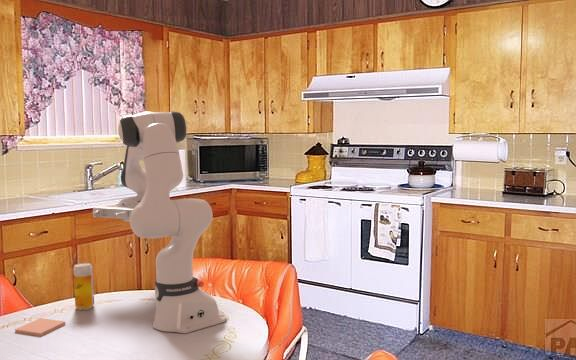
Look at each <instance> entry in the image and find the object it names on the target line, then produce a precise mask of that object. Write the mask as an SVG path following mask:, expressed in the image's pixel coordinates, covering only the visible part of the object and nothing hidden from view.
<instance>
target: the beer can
mask: <svg viewBox="0 0 576 360" xmlns="http://www.w3.org/2000/svg"><path fill="white" fill-rule="evenodd" d="M72 271H73V272H72V273H73V286H74V287H73V288H74V290H73V291H74V306H75V308H76V309H77V310H78V311H87V310H91V309H93V307H94V305H95V293H94V276H93V275H94V274H93V266H92V264H91V263H90V262H80V263H76V264H74V266H73V269H72Z"/></svg>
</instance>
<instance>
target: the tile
mask: <svg viewBox="0 0 576 360" xmlns="http://www.w3.org/2000/svg"><path fill="white" fill-rule="evenodd" d="M63 326H66V321H63V320H58V319H57V320H56V319H52V318H51V319H50V318H42V317H40V318H37V319H35V320H33V321H31V322H28V323H26V324H24V325H22V326H19V327H16V328H15V329H14V332H15V333H17V332H18V333H19V334H23V333H24V335H30V336H35V337H36V336H37V337H43V336H44V335H47V334H48V333H51V332H53V331H55V330H56V329H59V328H61V327H63ZM18 333H17V334H18Z"/></svg>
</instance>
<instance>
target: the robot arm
mask: <svg viewBox="0 0 576 360" xmlns="http://www.w3.org/2000/svg"><path fill="white" fill-rule="evenodd" d="M117 129H118V130H117V133H118V137H119V138H120V140H121V142H122V144H123V145H125V146H126V149H125V154H124V162H123V168H122V171H121V173H120V181H121V184H122V186H123V187H126V188H127V189H129V190H132V191H133V192H134V193H136V194H137V195H136V196H132V197H127V198H122V199H121V200H119V202H118V204H117V205H116V204H115V205H114V204H113V205H111V204H104V205H98V206H93V208H92V217H93V218H108V219H109V218H110V219H121V220H122V221H124V222H127V223H128V222H129V226H130V229H131V231H132V232H133V233H134V235H135V236H136V237H138V238H142V239H143V238H144V239H162V238H167V237H171V239H170V241H169V243H168V244H167V245H166V246H165V247H164V248H162V249H160V250H159V252H158V253H157V255H156V257H155V273H156V275H155V276H156V279H155V281H154V283H155V284H154V285H155V286H154V295H155V299H156V304H155V305H156V306H155V312H154V313H155V314H154V319H153V323H152V326H153V328H154V329H155V330H158V331H162V332H169V333H171V332H172V333H173V332H174V333H179V334H189V333H191V332H195V331H198V330H202V329H204V328H208V327H212V326H215V325H219V324H222V323H225V322H226V320H227V317H226V314H225V313H224V312H223V311H222V310H221V309H219V306H218V303H217V301H216V299H215V298H214V297H213V296H212V295H210V294H209V293H207V292H205V291H204V290H202V289H201V288H203V287H204V286H205V285H204V284H205V282H204V281H203V280H202V279H199V278H196V277H194V274H193V269H194V268H193V267H194V266H193V265H194V263H193V262H194V254H195V253H194V252H195V248H196V246H197V243H198V241H199V239H200V237H201V236H202V235H203V233H204V232H205V231H206V230H207V229H209V227H210V225H211V223H212V221H213V217H214V216H213V214H214V213H213V210H212V206H211V205H210V204H209V202H208V201H206V200H205V199H199V198H192V197H190V198H179V199H178V198H177V199H171V198H170V194H171V193H170V192H171V191H172V190H174V189H176V188H177V187H178V186H180V184H181V183H182V181H183V178H184V173H183V167H182V162H181V156H180V151H179V146H178V143H180V142H183V141H184V140H185V138H186V137H187V131H188V123H187V120H186V119H185V116H184V114H182V113H181V112H180V111H171V110H170V111H169V112H168V111H157V112H156V111H155V112H154V111H143V112H141V113H136V114H133V115H132V114H128V115H125V116H122V117H121V119H120V120H119V124H118V128H117ZM140 161H142V162H144V167H143V166H142V165H141V164H140Z"/></svg>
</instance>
